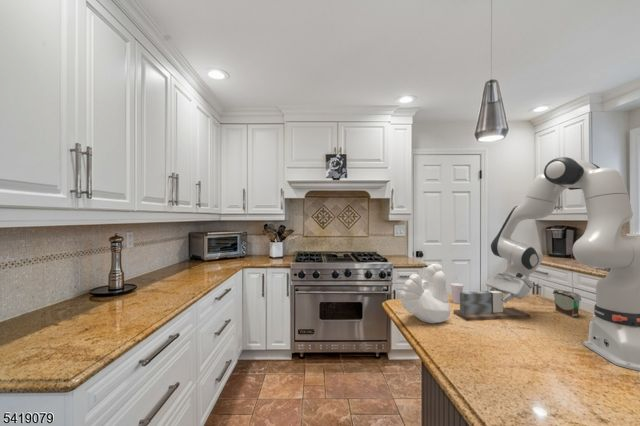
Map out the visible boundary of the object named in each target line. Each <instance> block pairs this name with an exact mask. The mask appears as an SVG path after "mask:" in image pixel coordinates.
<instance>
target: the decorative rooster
mask: <svg viewBox="0 0 640 426" xmlns="http://www.w3.org/2000/svg"><path fill="white" fill-rule="evenodd" d="M425 272H426V273H425V275H424V279H422V278H421V276H420V275H419V274H417V273H412V274H411V275H409V276H408V279H407V280H405V282H404V284H403V286H402V291H401V292H400V300H401V305H402V308H403V309H405V310H406V312H408V313H409V314H413V315H414V316H415V317H416V318H417V319H419V320H420V321H421V322H425V323H427V324H437V323H443V322H445V321H446V320H447V319H449V317H450V314H451V307H450V303H449V298H448V295H447V288H446V286H447V285H446V284H447V283H446V282H447V281H446V280H447V279H446V274H445V273H444V271H443V266H442V264H439V263H438V264H437V263H432V264H430V265H429V266H427V267H426V268H425Z"/></svg>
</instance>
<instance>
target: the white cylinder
mask: <svg viewBox="0 0 640 426" xmlns="http://www.w3.org/2000/svg"><path fill="white" fill-rule="evenodd" d="M489 292H492V295H493V313H497V312H503V308H504V302H502V301H501V299H502V298H503V297H504V293H503V292H500V291H489Z"/></svg>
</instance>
